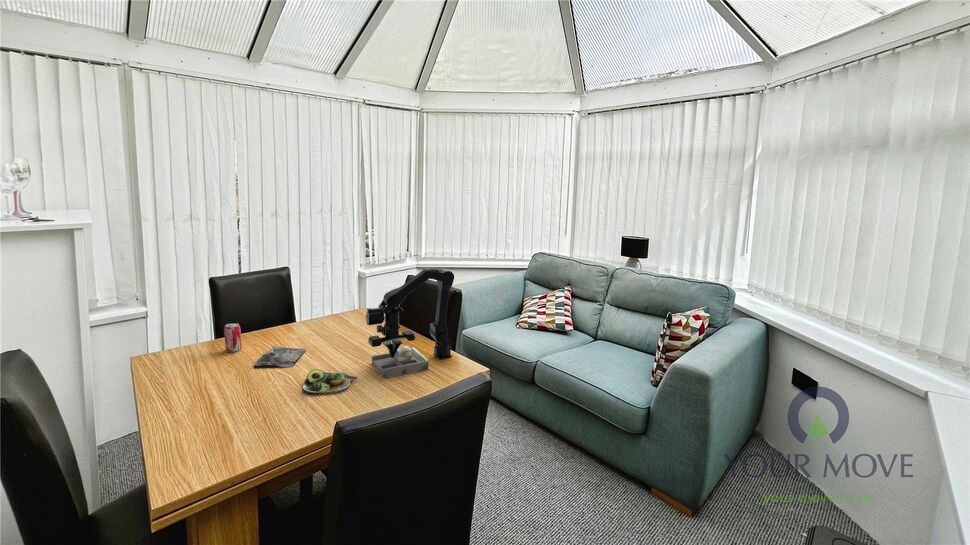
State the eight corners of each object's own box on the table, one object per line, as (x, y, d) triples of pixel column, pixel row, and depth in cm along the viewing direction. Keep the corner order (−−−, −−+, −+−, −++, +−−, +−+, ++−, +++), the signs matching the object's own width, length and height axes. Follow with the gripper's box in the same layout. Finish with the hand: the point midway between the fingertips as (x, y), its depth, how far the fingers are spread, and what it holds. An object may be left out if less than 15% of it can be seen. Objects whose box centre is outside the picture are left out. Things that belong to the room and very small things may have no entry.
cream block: (407, 354, 191) (407, 345, 191) (411, 358, 187) (411, 349, 186) (394, 356, 188) (394, 348, 187) (398, 361, 184) (398, 352, 183)
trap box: (413, 355, 195) (413, 347, 194) (428, 369, 182) (428, 360, 181) (371, 363, 186) (371, 354, 185) (384, 378, 172) (383, 368, 171)
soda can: (245, 349, 196) (242, 324, 193) (230, 354, 190) (228, 328, 188) (237, 346, 199) (235, 321, 196) (223, 350, 194) (220, 325, 191)
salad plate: (358, 373, 177) (358, 362, 176) (356, 393, 160) (356, 381, 159) (308, 376, 173) (307, 365, 172) (299, 397, 156) (299, 385, 155)
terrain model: (292, 369, 179) (291, 361, 178) (253, 369, 178) (253, 362, 177) (307, 350, 199) (307, 343, 198) (273, 350, 198) (272, 343, 197)
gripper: (406, 314, 193) (406, 347, 197) (364, 319, 184) (365, 354, 187) (415, 321, 184) (415, 356, 187) (372, 327, 175) (372, 364, 178)
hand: (392, 357), depth 185 cm, fingers closed
